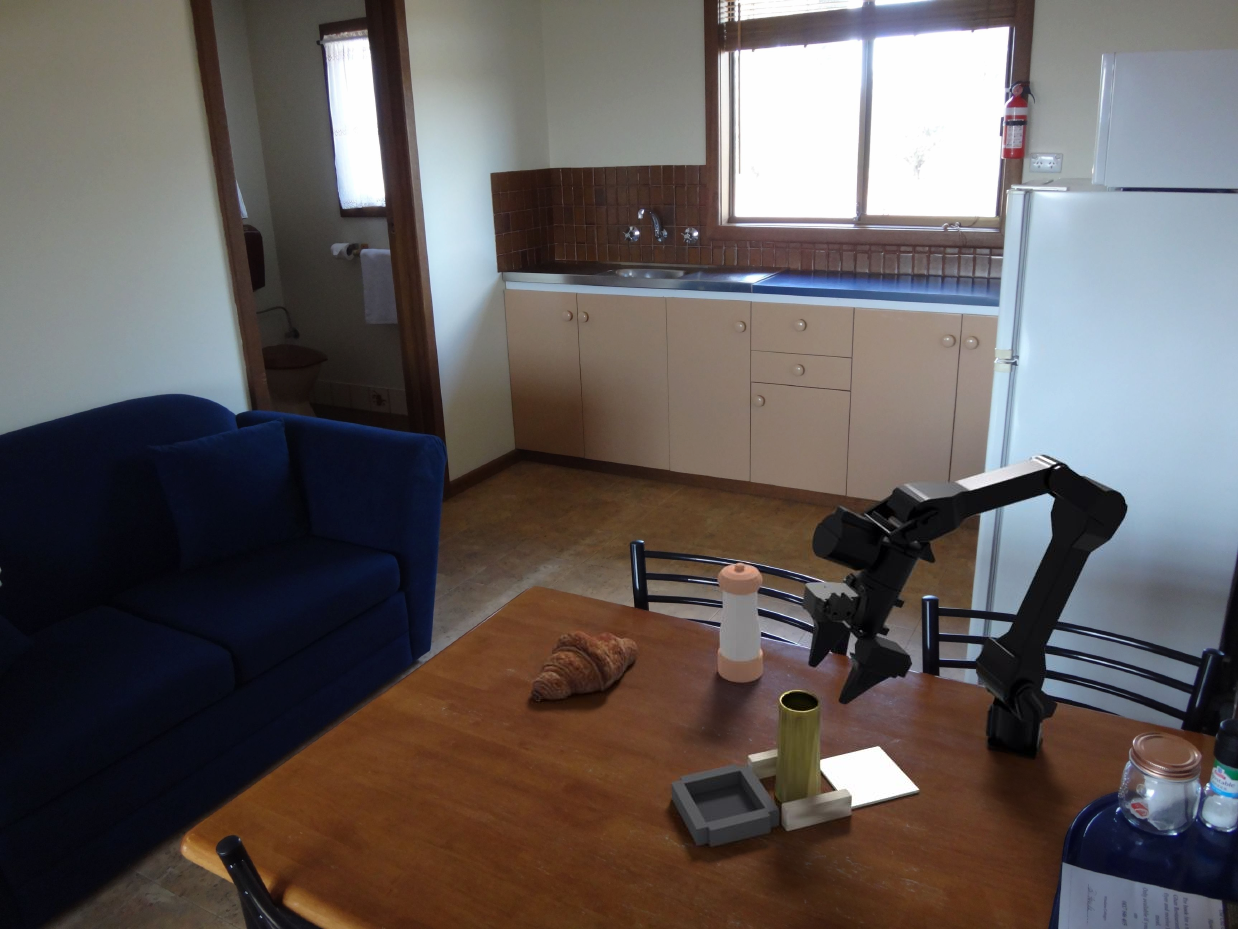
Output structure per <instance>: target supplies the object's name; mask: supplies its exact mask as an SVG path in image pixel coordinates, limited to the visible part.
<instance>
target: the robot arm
mask: <svg viewBox="0 0 1238 929" xmlns="http://www.w3.org/2000/svg"><path fill="white" fill-rule="evenodd" d="M1044 495H1049V496H1051V497H1052V498H1053V499H1054V500H1053V503H1052V507H1051V509H1050V525H1051V537H1050V538H1051V539H1050V542H1049V543H1048V545H1047V547H1046V550H1045V552H1044V553H1043V556H1042V558H1041V561H1040V563H1039V565H1038V567H1037V568H1036V572H1035V574H1034V576H1033V577H1032V580H1031V582H1030V584H1029V587H1028V588H1027V591H1026V593H1025V596H1024V597H1023V599H1022V602H1021V604H1020V606H1019V608H1018V610H1017V613H1016V614H1015V617H1014V619H1013V621H1012V623H1011V625H1010V627H1009V629H1008V631H1007V632H1005V633H1003V635H1001V636H998V637H997V638H996V639H995V638H993V637H990V636H989V637H987V638H986V639H985V640H984V643H983V647H982V650H981V652H980V654H978V656H977V658H975V662H976V663H977V665H976V668H975V674H976V675H977V678H978V681H979V682H980V683H981V684H982V685H983V686H984V688H985V690H986V691H987V692H988V693H990V694H991V695H992V696H993V697H994V699H993V701H992V702H990V703H989V706H988V709H987V712H986V713H987V714H986V715H987V716H986V724H985V736H986V737H987V740H986V747H987V748H989V749H993V750H997V751H1001V752H1004V753H1009V754H1013V755H1017V756H1020V757H1024V758H1028V759H1032V760H1034V759H1035V760H1036V759H1037V757H1038V754H1039V750H1040V745H1041V740H1042V737H1043V732H1042V725H1043V722H1044V721H1045V719H1050V718H1052V717H1054V713H1055V712H1056V709H1057V707H1058V702H1056V701H1055V700H1054V699H1053V698H1052V697H1050V696H1049V695H1048V694H1047V693H1046V692H1045V691H1044V690H1042V688H1043V685H1044V683H1045V679H1046V676H1047V662H1046V661H1047V659H1046V647H1047V644H1048V643H1049V641H1050V638H1051V636H1052V634H1053V632H1054V630H1055V628H1056V627H1057V623H1058V622H1059V620H1060V617H1061V615H1062V613H1063V611H1064V610H1065V607H1066V605H1067V603H1068V601H1069V599H1070V597H1071V594H1072V592H1073V591H1074V588H1075V586H1076V584H1077V582H1078V580H1079V577H1080V575H1081V573H1082V571H1083V569H1084V567H1085V565H1086V562H1087V560H1088V559H1089V557H1090V555H1091V553H1093V552H1094V551H1096V550H1097V549H1099V548H1100V547H1101V546H1103V545H1105V544H1106V543H1107V542H1109V541H1111V540H1112V538H1113V537H1114V535H1115V534H1116V532H1117V531H1118V529H1119V528H1120V526H1121V524H1123V521H1124V519H1126V515H1127V513H1128V509H1129V506H1128V504H1127V502H1126V498H1125V496H1124V495H1123V494H1122V493H1121V492H1120V491H1118V490H1115V489H1114V488H1111V487H1109V486H1107V485H1105V484H1103V483H1100V482H1098V481H1097V480H1095V479H1092V478H1090V477H1088V476H1086V475H1081V474H1078V472H1076V471H1074V470H1073V469H1071V467H1070V466H1069V465H1068V463H1067V464H1066V463H1065V462H1063V461H1060V460H1058V459H1056V458H1054V457H1051V456H1049V455H1047V454H1035V455H1033V456H1032V457H1030V458H1029V459H1027V460H1024V461H1020V462H1016V463H1013V464H1010V465H1007V466H1003V467H1000V468H997V469H993V470H990V471H986V472H982V473H979V474H976V475H972V476H970V477H965V478H963V479H962V478H961V479H959V480H955V481H949V482H946V481H945V482H943V481H932V480H931V481H929V480H928V481H927V480H925V481H918V482H909V483H903V484H901V485H898V486H897V487H895V488H894V489H893V490H892V492H891V494H890V495H889V496H887V497H885V498H884V499H882V500H880V501H879V502H877V503H875V504H874V505H872V506H870V507H869V508H868V509H865V510H864V511H862V512H861V513H860V514H858V513H856V512H853V511H852V510H850V509H848V508H847V507H845V506H841V505H838V506H837V507H836V509H835V512H834V513H831V514H829V515H827V516H825V517H824V518H823V519H822V521H821V522H819V523H818V524H817V525H816V527H815V530H814V532H813V536H812V542H811V544H812V545H811V546H812V551H813V554H814V556H816V557H817V558H820V559H822V560H826V561H828V562H831V563H834V564H837V565H839V566H842V567H845V568H848V569H851V570H853V571H856V572H858V573H853V572H850V573H849V574H847V575H846V577H845V579H844V581H843V582H833V581H821V582H807V583H805V586H804V592H803V598H802V605H801V607H802V609H803V610H805V611H806V612H807V613H808V614H809V616H810V618H811V620H812V622H813V628H812V629H813V630H812V637H811V638H812V639H811V643H810V650H809V656H808V661H807V665H808V666H809V667H811V668H817V667H818V666H819V665H820V664H821V663H822V662H823V661H824V660H825V658H826V657H827V656H828V655H829V654H830V652H832V650H833V649H834V647H835V646H836V645H837V644H838V643H839V642H840V640H841V639H842V638H843V637H844V635H846V633H847V632H848V631H849V632H850V633H851V635H853V636H854V637H855V638H856V639H857V640H856V642H855V643H854V652H852V651H849V656H850V660H851V663H852V666H851V668H850V671H849V672H848V673H849V674H848V676H847V678H846V680H845V682H844V685H843V687H842V689H841V691H840V695H839V697H838V703H839V704H841V705H845V706H846V705H849V703H851V702H852V701H854V700H856V699H857V698H858V697H859V696H862V695H863V694H864V693H866V692H867V691H869V690H870V689H872V688H873V687H875V686H877V685H879V684H880V683H883V682H884V681H886V680H888V679H890V678H892V679H897V678H898V677H900V678H903V679H905V678H906V676H907V675H908V673H909V671H910V669H911V667H912V665H913V661H912V658H911V655H910V654H909V653H908V652H907V651H906V650H905V649H904V648H903V647H901V646H900V644H898V642H896V641H894V640H890V639H887V638H884V637H887V636H888V633H889V632H890V631H891V629H890V628H889V627H888V625H886V622H887V620H888V618H889V616H890V614H891V613H892V611H893V609H894V607H897V608H899V609H902V608H903V606H904V604H905V602H906V601H905V600H904V599H903V598H902V597H901V594H902V592H903V590H904V589H905V587H906V584H907V582H908V581H909V579H910V577H911V576H912V573H913V572H914V570H915V568H916V566H917V564H918V562H919V560H923V561H925V562H927V563H930V564H934V563H935V562H936V557H935V554H934V553H933V550H932V547H931V546H932V544H931V543H932V542H934V541H936V540H938V539H940V538H942V537H944V536H946V535H948V534H950V533H952V532H954V531H955V530H957V529H958V528H959V527H960V525H961V524H962V523H963V522H964V521H965V520H968V519H970V518H971V517H973V516H974V517H975V516H977V515H981V514H983V513H984V514H985V513H987V512H990V511H993V510H997V509H999V508H1003V507H1007V506H1010V505H1014V504H1018V503H1021V502H1023V501H1026V500H1030V499H1034V498H1037V497H1040V496H1044ZM879 635H882V637H881V636H879ZM883 636H884V637H883Z"/></svg>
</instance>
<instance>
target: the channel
mask: <svg viewBox="0 0 1238 929" xmlns="http://www.w3.org/2000/svg"><path fill="white" fill-rule="evenodd" d="M777 749H778V748H775V749H770V750H767V751H762V752H757V753H753V754H748V755H747V765H749V767H750V768H751V769H752V771H753V772H754V774H755V775H756V777H757V778H758V780H762V779H766V778H769V777H770V778H771V777H773V776H775V777H776V765H777ZM852 810H853V809H852V795H851V794H850V792H849V791H848V790H847V789H846V788H845V789H841V790H837V791H836V790H833V791H829V792H826V793H821V794H820V795H816V796H812V797H808V798H804V799H800V800H796V801H792V802H787V803H781V825H782V826H783V828H784V829H785V831H786V832H791V831H792V830H798V829H802V828H805V827H809V826H813V825H818V824H821V823H824V822H825V823H826V822H830V821H833V820H837V819H841V818H845V817H849V816H852Z"/></svg>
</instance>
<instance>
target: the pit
mask: <svg viewBox="0 0 1238 929" xmlns="http://www.w3.org/2000/svg"><path fill="white" fill-rule="evenodd" d="M670 786H671V787H670V788H671V789H670V790H671V791H670V793H671V800H672V801H673V804H674V805H675V807H676V810H677V811H678V813H679V815H680V817H681V818H682V820H683V822H684V824H685V826H686V828H687V829H688V831H689V833H690V836H691V837H692V839H693V842H694V843H695V845H696V847H699V846H703V845H709V847H710V848H713V847H716V846H717V847H718V846H721V845H726V844H730V843H734V842H737V841H741V840H747V839H749V838H753V837H757V836H760V835H761V836H762V835H764V834H769V833H771V828H774V827H779V826H780V809H779V807H778V806H777V804H776V803H775V801H774V800H773V799H772V797H771V796H770V794H769V793H768V791H767V790H766V789H765V787H764V785H763V784H762V783H761V781H760V779H758V778H757V777H756V775H755V774H754V772H753V771H752V769H751V768H750V767H749V765H748V764H746V765H742V766H738V765H737V763H734V764H730V765H726V766H721V767H717V768H711V769H708V770H704V771H703V770H702V771H699V772H694V773H689V774H685V775H681V776H679V780H676V781H672V782H670Z"/></svg>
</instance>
